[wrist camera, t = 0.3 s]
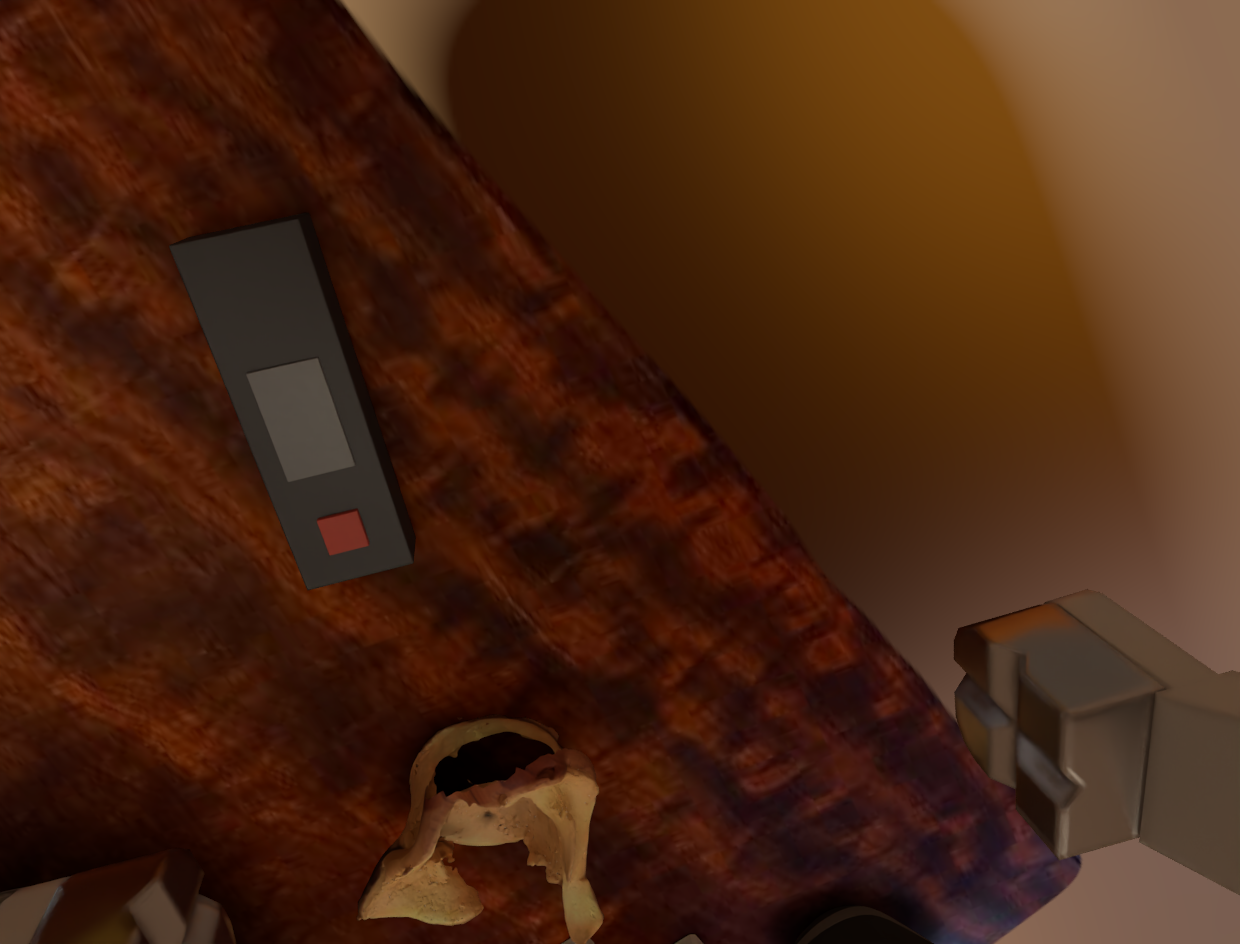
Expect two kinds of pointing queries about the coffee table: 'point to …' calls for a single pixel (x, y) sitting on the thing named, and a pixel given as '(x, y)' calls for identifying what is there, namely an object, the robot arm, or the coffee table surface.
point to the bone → (490, 830)
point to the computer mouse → (858, 928)
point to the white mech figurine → (687, 943)
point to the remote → (299, 395)
